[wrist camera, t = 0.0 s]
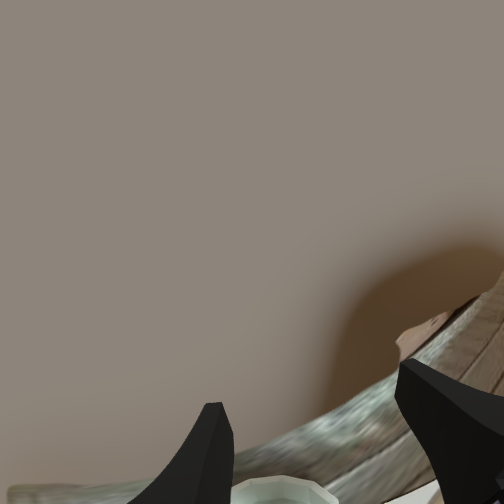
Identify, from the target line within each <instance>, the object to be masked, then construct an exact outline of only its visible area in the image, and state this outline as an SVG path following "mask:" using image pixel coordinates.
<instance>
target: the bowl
mask: <svg viewBox="0 0 504 504" xmlns="http://www.w3.org/2000/svg"><path fill="white" fill-rule="evenodd" d="M231 504H339V502H338V499H337V498H336V497H334V496H333V495H332V494H330V493H329V492H327V491H326V490H325V489H323V488H322V487H321V486H319V485H318V484H317V483H315V482H314V481H309V480H304V479H299V478H294V477H290V476H285V475H278V476H271V477H262V478H253V479H248V480H246V481H244V482H242V483H239V484H237V485H235V486H233V487H232V489H231Z"/></svg>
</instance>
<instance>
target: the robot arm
mask: <svg viewBox="0 0 504 504" xmlns="http://www.w3.org/2000/svg"><path fill="white" fill-rule="evenodd" d="M394 397H395V399H396V402H397V404H398V406H399V409H400V411H401V413H402V415H403V417H404V418H405V420H406V422H407V423H408V425H409V426H410V428H411V430H412V431H413V433H414V434H415V436H416V438H417V439H418V441H419V442H420V444H421V446H422V447H423V449H424V451H425V452H426V454H427V456H428V458H429V461H430V463H431V465H432V468H433V470H434V473H435V475H436V478H437V481H438V484H439V487H440V490H441V493H442V497H443V501H444V504H504V397H502V396H497V395H493V394H490V393H487V392H483V391H480V390H477V389H475V388H472V387H470V386H467V385H465V384H462V383H460V382H458V381H456V380H454V379H452V378H450V377H448V376H446V375H444V374H442V373H440V372H438V371H436V370H434V369H432V368H431V367H429V366H427V365H425V364H423V363H421V362H419V361H418V360H416V359H414V358H411V359H408V360H406V361H403V362H400V367H399V374H398V380H397V385H396V390H395V396H394ZM233 464H234V439H233V431H232V429H231V426H230V424H229V421H228V418H227V415H226V413H225V410H224V407H223V404H222V402H216V403H206V404H205V405H204V407H203V409H202V411H201V413H200V415H199V417H198V419H197V421H196V423H195V425H194V426H193V428H192V430H191V432H190V433H189V435H188V436H187V438H186V440H185V441H184V443H183V444H182V446H181V448H180V449H179V450H178V452H177V453H176V455H175V456H174V457H173V459H172V460H171V461H170V463H169V464H168V465H167V466H166V468H165V469H164V470H163V471H162V472H161V474H160V475H159V476H158V477H157V478H156V479H155V480H154V481H153V482H152V483H151V484H150V485H149V486H148V487H147V488H146V489H145V490H143V491H142V492H141V493H140V494H139V495H138V496H136V497H135V498H134V499H132V500H131V501H130V502H128V503H127V504H231V489H232V477H233Z"/></svg>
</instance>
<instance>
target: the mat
mask: <svg viewBox="0 0 504 504" xmlns="http://www.w3.org/2000/svg"><path fill="white" fill-rule="evenodd" d="M440 494H441V490H440V487H439V484H438V481H437V480H435V481H433V482H431V483H429V484H427V485H425V486H423V487H421V488H419V489H417V490H415V491H413V492H411V493H409V494H406V495H404V496H402V497H399V498H397V499H395V500H392V501H390V502H387V503H385V504H433V503H434V502H435V500H436V499H437V498H438V496H439V495H440Z"/></svg>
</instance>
